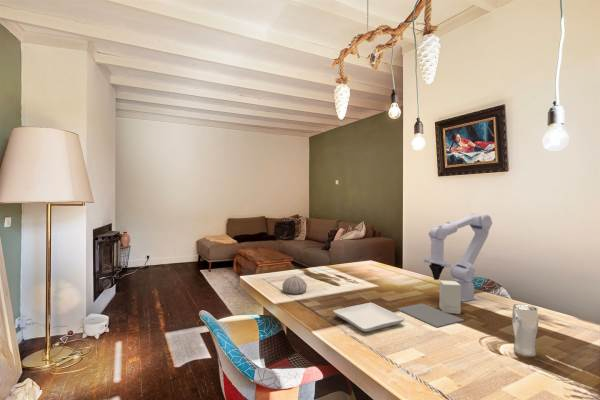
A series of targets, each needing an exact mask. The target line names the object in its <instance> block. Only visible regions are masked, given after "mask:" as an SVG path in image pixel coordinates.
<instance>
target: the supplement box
mask: <svg viewBox="0 0 600 400" xmlns="http://www.w3.org/2000/svg"><path fill="white" fill-rule="evenodd" d="M438 297H439V298H438V299H439V306H438V307H439V310H440V311H443V312H446V313H448V314H458V315H459V314H461V311H462V310H461V307H462V305H461V302H462V301H461V285H460V284H459V283H457V282H456V281H454V280H440V279H439V295H438Z"/></svg>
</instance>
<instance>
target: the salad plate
mask: <svg viewBox="0 0 600 400" xmlns="http://www.w3.org/2000/svg"><path fill="white" fill-rule="evenodd" d="M332 312H333V313H334V314H335V315H336V316H337V317H338V318H340V319H342V320H344V321H346V322H347V323H348V324H350V325H352V326H354V327H355V328H357V329H359V330H360V331H362V332H366V333H368V332H372V331H376V330H379V329H385V328H388V327H391V326H396V325H399V324H401V323H403V322H404V321H405V317H403V316H401V315H398V314H397V313H395V312H393V311H391V310H389V309H387V308H384V307H382V306H380V305H378V304H376V303H374V302H367V303H366V302H365V303H361V304H356V305H352V306H351V305H350V306H347V307H342V308H338V309H334V310H333V311H332Z"/></svg>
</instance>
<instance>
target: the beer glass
mask: <svg viewBox="0 0 600 400" xmlns="http://www.w3.org/2000/svg"><path fill="white" fill-rule="evenodd" d="M538 311H539V310H538V308H537V307H535V306H534V305H530V304H525V303H515V304H513V305H512V317H511V319H512V327H513V333H514V345H513V349H512V350H513V352H515V353H516V354H518V355H520V356H524V357H528V358H533V357H536V355H537V351H536V348H535V347H536V346H535V342H536V337H537V334H538V329H539V312H538Z"/></svg>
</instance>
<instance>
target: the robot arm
mask: <svg viewBox="0 0 600 400" xmlns="http://www.w3.org/2000/svg"><path fill="white" fill-rule="evenodd" d="M492 225H493V220H492V218H491V216H490V215H489V214H479V213H470V214H467V215H466V216H465V217H463V218H461V219H459V220H456V221H449V220H448V221H446V223H444V224H439V225H438V226H437V227H436V226H434V227H432V228H431V229H430V230H429V232H428V236H429V237H430V258H427V257H424V258H423V263H428V264H429V265H428V267H429V268H430V270H431V273H432V278H433V280H434V281H440V276H441V274H442V271H443V270H444V268H447V269H448V268H449V269H450V273H449V274H450V276H451V277H452V280H453V281H456V282H457V283H459V284H460V285H461V302H468V301H473V300H476V297H475V285H474V282H473V279H474V278H475V277H474V276H475V273H476V268H475V267H474V264H475V261H476V260H477V258H478V257H479V254H480V252H481V250H482V248H483V246H484V244H485V242H486V241H487V238H488V236H489V233H490V229H491V227H492ZM466 226H469V227H470V228H471V230H472V231H473V232H474V235H473V237H472V239H471V240H470V243H469V245H468V246H467V248H466V251H465V253H464V254H463V256H462V259H461V260H459V261H457V262H456V263H455V264H454V265H453V266H452V263H449V262H447V261H444V255H445V254H444V248H445V247H444V246H445V245H444V243H445V239H446V238H447V237H448V236H450V235H452V234H455V233H457V232H458V230H459V229H460V228H464V227H466Z"/></svg>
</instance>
